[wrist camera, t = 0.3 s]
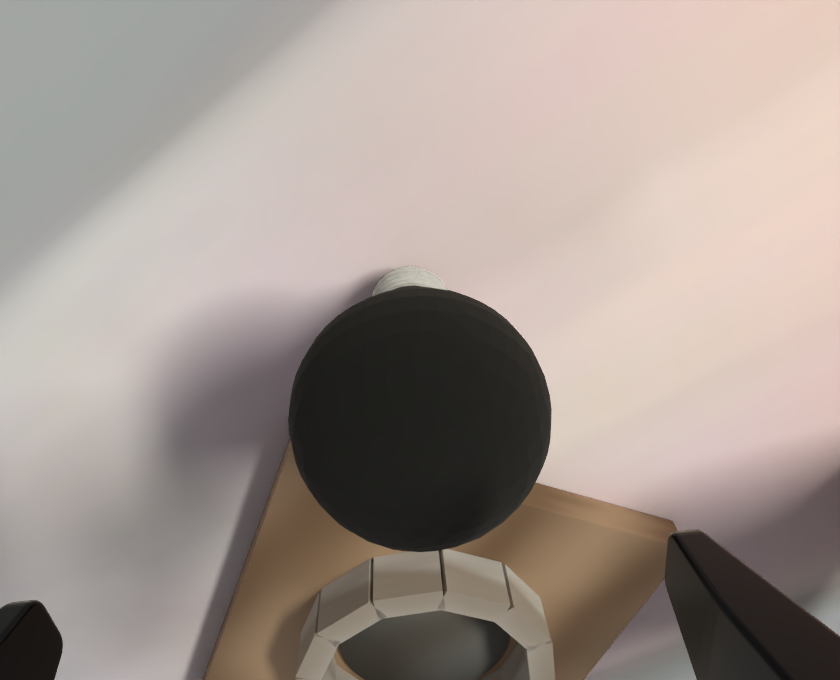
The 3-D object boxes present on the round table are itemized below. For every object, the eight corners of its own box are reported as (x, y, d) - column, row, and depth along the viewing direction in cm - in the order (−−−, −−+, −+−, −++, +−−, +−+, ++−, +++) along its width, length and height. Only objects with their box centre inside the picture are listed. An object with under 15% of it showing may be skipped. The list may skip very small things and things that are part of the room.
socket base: (672, 521, 26) (710, 590, 23) (509, 735, 33) (521, 811, 30) (298, 416, 23) (284, 481, 20) (202, 680, 29) (181, 759, 26)
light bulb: (342, 380, 22) (314, 633, 13) (297, 221, 19) (224, 408, 10) (507, 350, 22) (591, 587, 13) (486, 185, 19) (574, 344, 10)
